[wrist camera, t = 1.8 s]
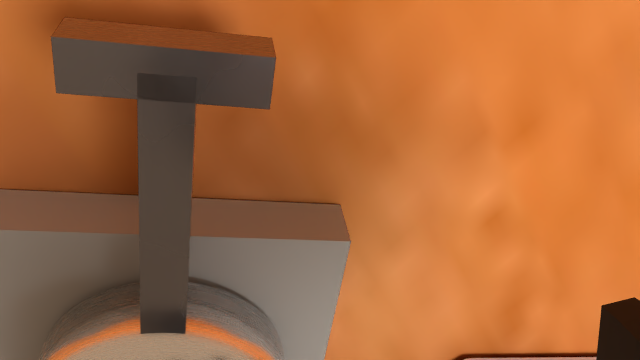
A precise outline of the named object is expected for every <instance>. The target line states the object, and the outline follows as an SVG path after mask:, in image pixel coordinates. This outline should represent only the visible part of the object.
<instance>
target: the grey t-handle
mask: <svg viewBox="0 0 640 360" xmlns="http://www.w3.org/2000/svg"><path fill="white" fill-rule="evenodd" d="M51 41H52V52H53V63H54V74H55V85H56V93H62V94H75V95H88V96H101V97H114V98H127V99H137V108H138V185H139V261H140V283H132V284H128V285H124V286H119V287H115V288H112V289H109V290H107V291H104V292H101V293H98V294H96V295H94V296H92V297H90V298H88V299H86V300H84V301H82V302H81V303H79V304H78V305H76V306H74V307H73V308H72V309H70V310H69V311H68V312H67V313H66V314H64V315H63V316H62V317H61V318H60V319H59V320H58V322H57V323H56V324H55V325H54V326H53V327H52V329H51V331H50V332H49V334H48V335H47V337H46V339H45V342H44V345H43V347H42V350H41V353H40V356H39V359H38V360H285V359H284V350H283V345H282V342H281V339H280V336H279V334H278V333H277V331H276V329H275V327H274V326H273V324H272V323H271V322H270V321H269V319H268V318H267V317H266V316H265V315H264V314H263V313H262V312H260V311H259V310H258V309H257V308H256V307H254V306H253V305H251V304H250V303H248V302H247V301H245V300H243V299H241V298H240V297H238V296H236V295H234V294H231V293H229V292H226V291H224V290H221V289H218V288H214V287H211V286H207V285H203V284H197V283H191V282H188V281H189V259H190V237H191V214H192V192H193V170H194V148H195V125H196V104H206V105H219V106H232V107H245V108H258V109H270V104H271V95H272V87H273V78H274V70H275V61H276V56H275V51H274V46H273V41H272V38H267V37H257V36H247V35H237V34H227V33H217V32H207V31H197V30H187V29H177V28H167V27H157V26H147V25H137V24H127V23H117V22H107V21H97V20H88V19H78V18H68V17H64V19H63V20H62V22H61V23H60V25H59V26H58V27H57V29H56V30H55V32H54V33H53V35H52V36H51Z"/></svg>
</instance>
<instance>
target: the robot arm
mask: <svg viewBox="0 0 640 360" xmlns="http://www.w3.org/2000/svg"><path fill="white" fill-rule="evenodd" d="M464 360H640V301H639V300H638V299H636V298H635V297H634V298H630V299H626V300H622V301H618V302H614V303H610V304H606V305H602V308H601V319H600V329H599V339H598V349H597V357H534V358H466V359H464Z"/></svg>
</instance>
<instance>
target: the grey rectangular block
mask: <svg viewBox="0 0 640 360" xmlns="http://www.w3.org/2000/svg"><path fill="white" fill-rule="evenodd" d="M350 243H351V240H350V237H349V233H348V230H347V226H346V223H345V219H344V216H343V212H342V209H341V205H337V204H315V203H293V202H271V201H249V200H227V199H205V198H192V214H191V237H190V259H189V281H188V282H191V283H197V284H203V285H207V286H211V287H214V288H218V289H221V290H224V291H226V292H229V293H231V294H234V295H236V296H238V297H240V298H241V299H243V300H245V301H247V302H248V303H250V304H251V305H253V306H254V307H256V308H257V309H258V310H259V311H260V312H262V313H263V314H264V315H265V316H266V317H267V318H268V319H269V321H270V322H271V323H272V324H273V326H274V327H275V329H276V331H277V333H278V334H279V336H280V339H281V342H282V345H283V350H284V359H285V360H324V358H325V353H326V349H327V344H328V340H329V336H330V331H331V327H332V322H333V318H334V314H335V309H336V305H337V300H338V296H339V292H340V287H341V283H342V278H343V274H344V270H345V265H346V261H347V256H348V252H349V248H350ZM132 283H140V261H139V195H117V194H95V193H73V192H51V191H29V190H7V189H0V360H38V359H39V356H40V353H41V350H42V347H43V345H44V342H45V339H46V337H47V335H48V334H49V332H50V331H51V329H52V327H53V326H54V325H55V324H56V323H57V322H58V320H59V319H60V318H61V317H62V316H63V315H64V314H66V313H67V312H68V311H69V310H70V309H72V308H73V307H74V306H76V305H78V304H79V303H81V302H82V301H84V300H86V299H88V298H90V297H92V296H94V295H96V294H98V293H101V292H104V291H107V290H109V289H112V288H115V287H119V286H124V285H128V284H132Z"/></svg>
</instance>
